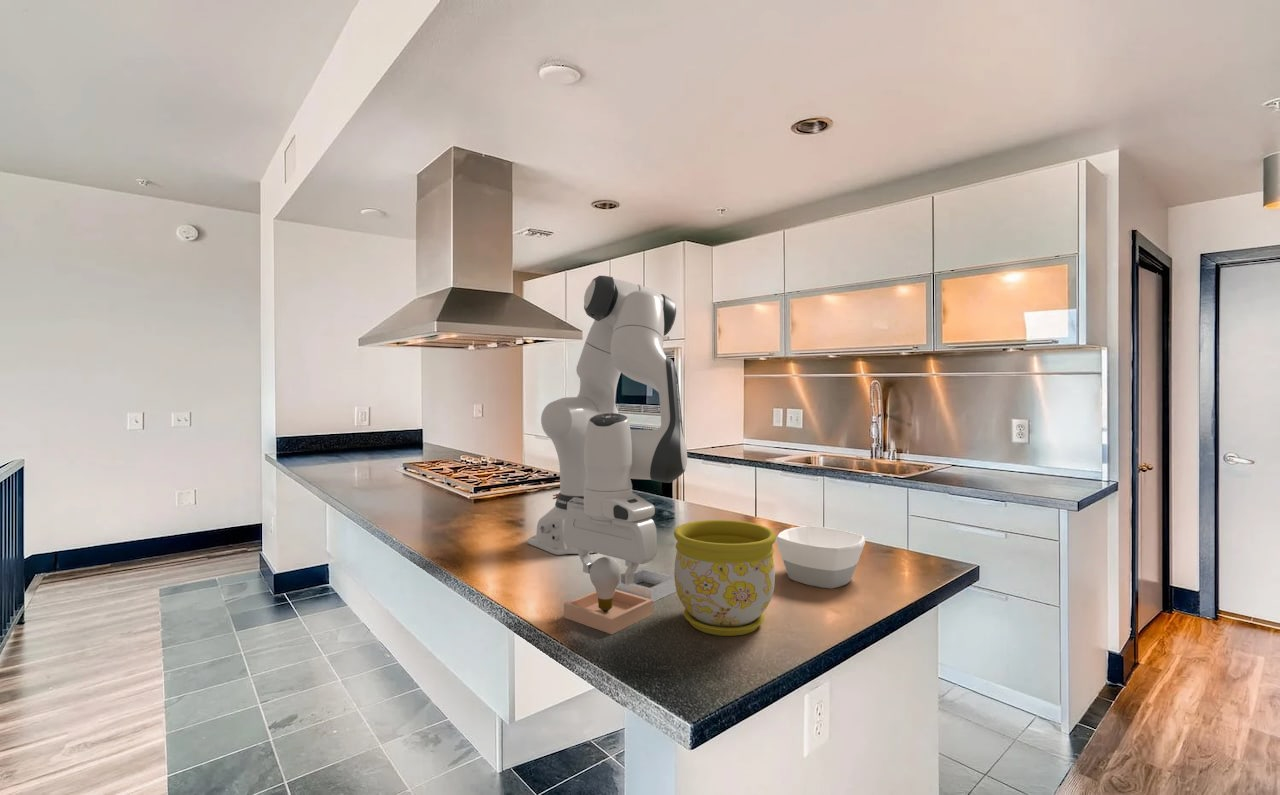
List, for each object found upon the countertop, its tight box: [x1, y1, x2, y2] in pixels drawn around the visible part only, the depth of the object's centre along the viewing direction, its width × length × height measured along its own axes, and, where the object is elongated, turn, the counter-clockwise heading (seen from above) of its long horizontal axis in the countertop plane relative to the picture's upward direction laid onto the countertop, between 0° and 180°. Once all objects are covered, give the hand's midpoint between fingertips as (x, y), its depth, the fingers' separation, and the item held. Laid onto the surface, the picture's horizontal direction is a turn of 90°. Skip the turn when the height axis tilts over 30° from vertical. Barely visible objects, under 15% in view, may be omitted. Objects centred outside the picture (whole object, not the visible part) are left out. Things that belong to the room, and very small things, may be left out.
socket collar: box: [616, 567, 677, 603], centre depth 125 cm, size 10×10×2 cm
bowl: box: [775, 525, 866, 590], centre depth 132 cm, size 18×18×9 cm
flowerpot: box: [673, 519, 777, 637], centre depth 108 cm, size 18×18×16 cm
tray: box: [563, 589, 654, 635], centre depth 111 cm, size 12×12×3 cm
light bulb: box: [589, 556, 622, 612], centre depth 112 cm, size 6×6×10 cm
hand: (607, 577), depth 111 cm, fingers open, 8 cm apart
